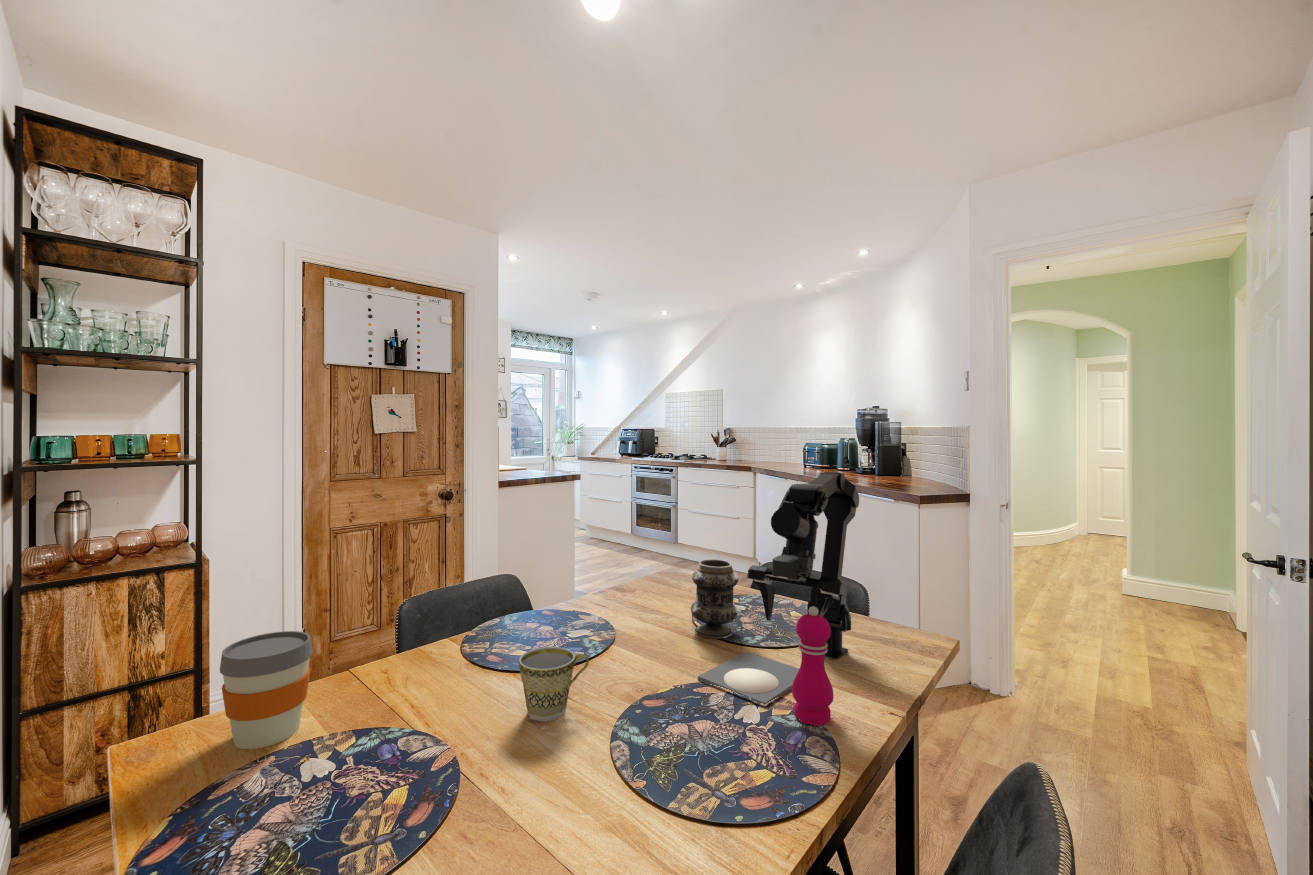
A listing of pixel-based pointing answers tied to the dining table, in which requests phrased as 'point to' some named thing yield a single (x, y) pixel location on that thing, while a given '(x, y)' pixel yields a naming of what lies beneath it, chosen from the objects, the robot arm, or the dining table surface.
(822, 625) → the pepper mill
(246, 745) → the reusable coffee cup
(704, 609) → the apothecary jar
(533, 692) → the ceramic cup
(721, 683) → the mat
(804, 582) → the robot arm
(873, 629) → the dining table surface
